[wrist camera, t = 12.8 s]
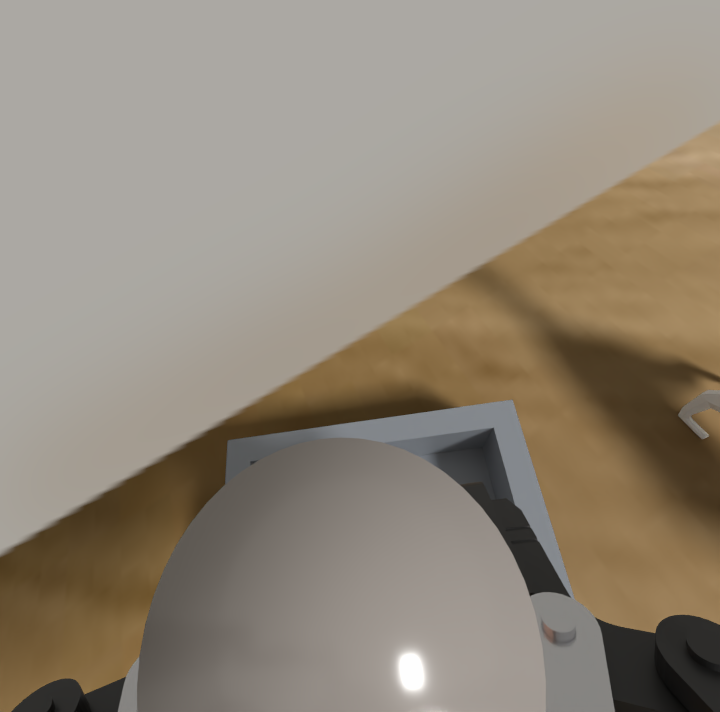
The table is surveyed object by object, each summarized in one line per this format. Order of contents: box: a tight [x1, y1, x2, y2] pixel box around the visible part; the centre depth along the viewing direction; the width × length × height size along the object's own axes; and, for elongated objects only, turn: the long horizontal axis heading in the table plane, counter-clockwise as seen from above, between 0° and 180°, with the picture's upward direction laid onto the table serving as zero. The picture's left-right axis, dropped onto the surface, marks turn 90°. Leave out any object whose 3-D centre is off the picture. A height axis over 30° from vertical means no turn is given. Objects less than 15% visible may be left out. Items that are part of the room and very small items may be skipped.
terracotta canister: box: [137, 438, 546, 712], centre depth 9 cm, size 5×5×10 cm
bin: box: [225, 400, 575, 600], centre depth 18 cm, size 14×14×4 cm
